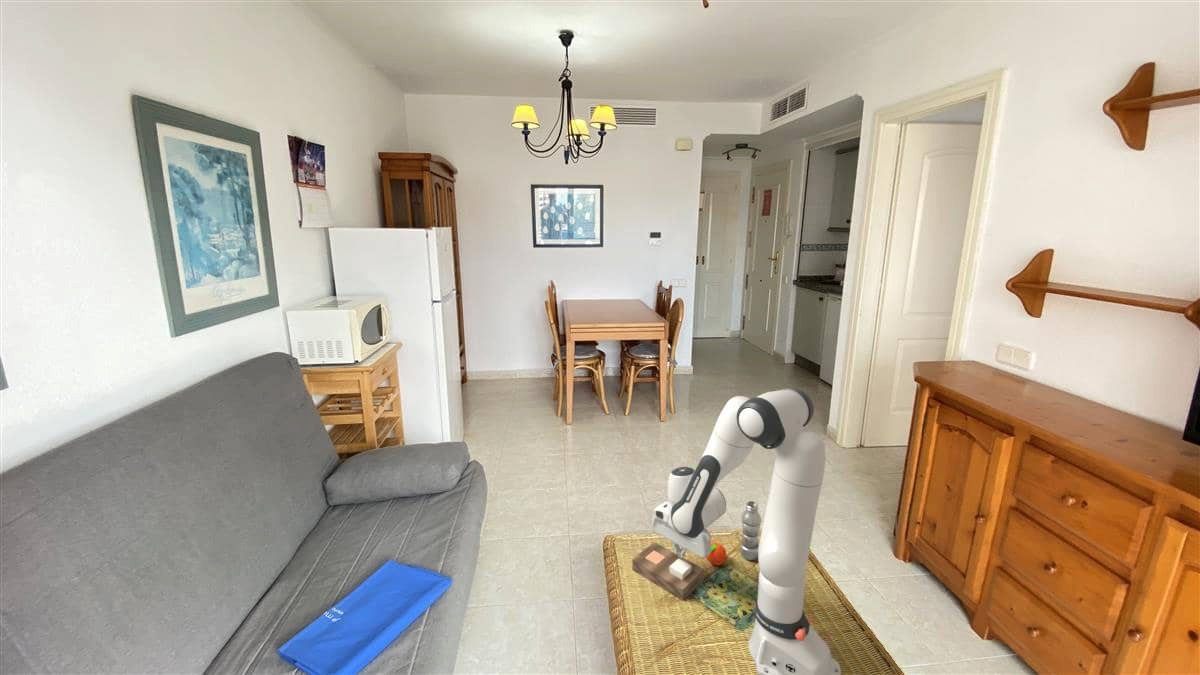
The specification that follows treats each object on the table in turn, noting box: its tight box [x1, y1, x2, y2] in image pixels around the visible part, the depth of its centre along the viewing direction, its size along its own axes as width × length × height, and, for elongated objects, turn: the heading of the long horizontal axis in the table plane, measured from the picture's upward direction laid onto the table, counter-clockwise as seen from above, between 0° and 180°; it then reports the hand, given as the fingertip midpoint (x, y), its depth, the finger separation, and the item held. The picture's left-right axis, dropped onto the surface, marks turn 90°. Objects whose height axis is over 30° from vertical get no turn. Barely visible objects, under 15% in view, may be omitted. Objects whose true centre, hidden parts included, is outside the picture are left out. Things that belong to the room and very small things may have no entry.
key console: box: [631, 542, 705, 602], centre depth 156 cm, size 20×12×4 cm, turn 46°
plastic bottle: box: [739, 500, 762, 561], centre depth 162 cm, size 6×7×20 cm
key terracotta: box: [645, 550, 666, 565], centre depth 159 cm, size 5×5×3 cm
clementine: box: [705, 542, 727, 566], centre depth 160 cm, size 8×7×7 cm
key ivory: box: [669, 559, 692, 580], centre depth 152 cm, size 5×5×3 cm
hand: (679, 555), depth 151 cm, fingers closed
